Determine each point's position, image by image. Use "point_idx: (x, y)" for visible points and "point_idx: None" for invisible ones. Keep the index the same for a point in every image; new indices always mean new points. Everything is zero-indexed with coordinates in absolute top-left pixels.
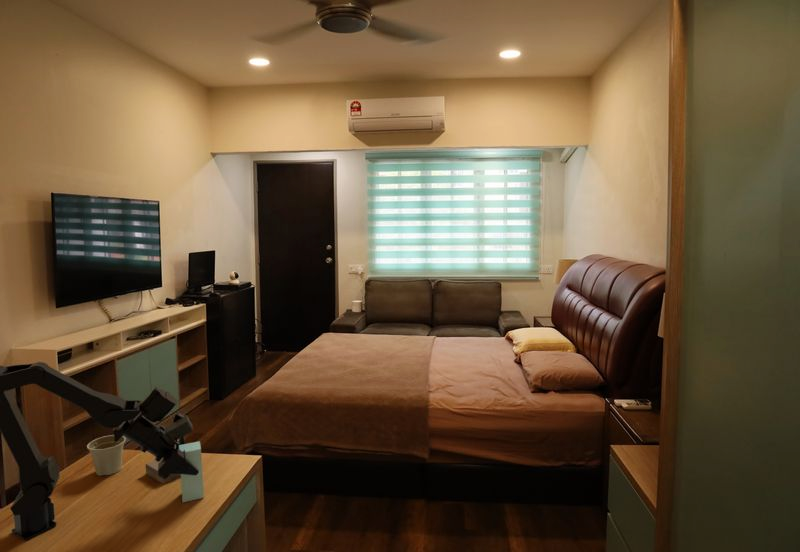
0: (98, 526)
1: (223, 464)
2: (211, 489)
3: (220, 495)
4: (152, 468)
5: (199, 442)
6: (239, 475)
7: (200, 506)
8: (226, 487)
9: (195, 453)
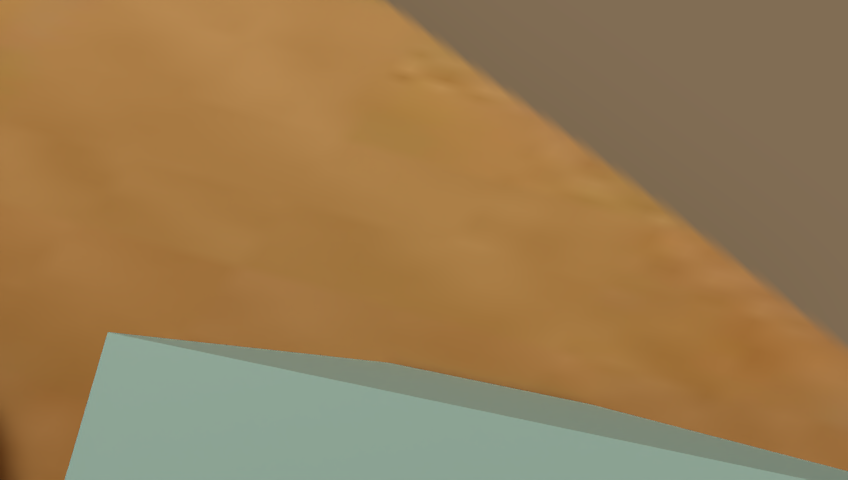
0: None
1: (42, 64)
2: (458, 292)
3: (627, 251)
4: None
5: (226, 382)
6: (356, 3)
7: None
8: (507, 162)
9: None
